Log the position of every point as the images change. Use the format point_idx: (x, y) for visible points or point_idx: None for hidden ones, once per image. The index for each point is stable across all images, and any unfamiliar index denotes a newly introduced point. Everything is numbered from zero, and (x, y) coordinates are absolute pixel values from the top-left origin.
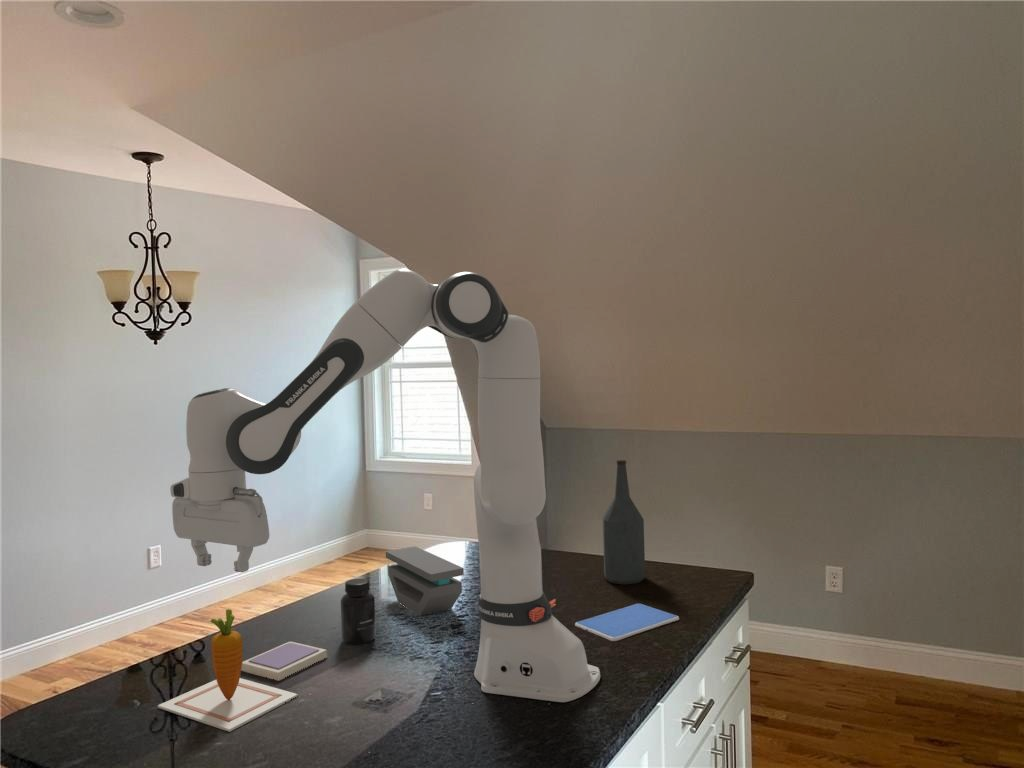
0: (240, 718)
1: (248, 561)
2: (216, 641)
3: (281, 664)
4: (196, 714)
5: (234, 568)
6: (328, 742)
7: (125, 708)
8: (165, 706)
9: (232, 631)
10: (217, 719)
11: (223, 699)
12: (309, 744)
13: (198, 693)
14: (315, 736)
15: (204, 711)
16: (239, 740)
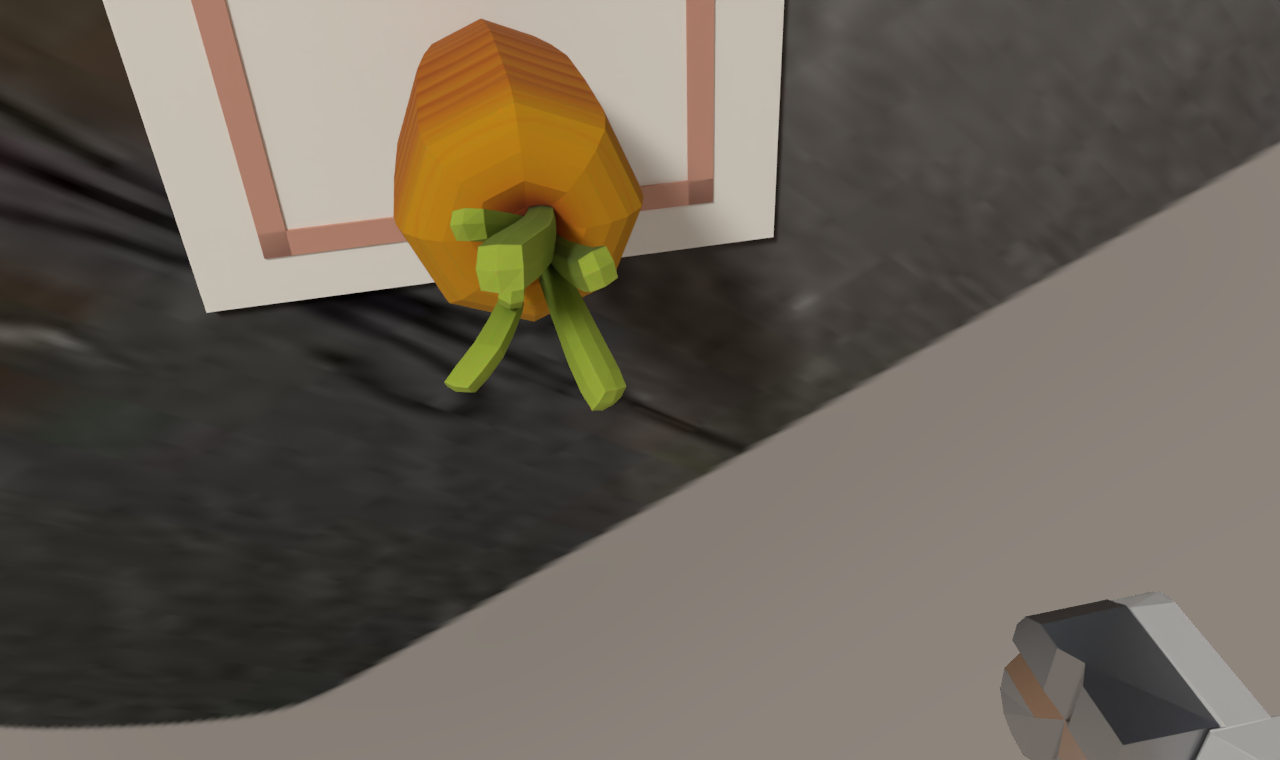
0: (733, 148)
1: (1247, 689)
2: (546, 314)
3: None
4: None
5: (1024, 748)
6: (1245, 36)
7: (73, 398)
8: (257, 295)
9: (537, 182)
10: (639, 218)
11: None
12: (1173, 96)
13: (236, 113)
14: (1163, 33)
15: None
16: (867, 245)
